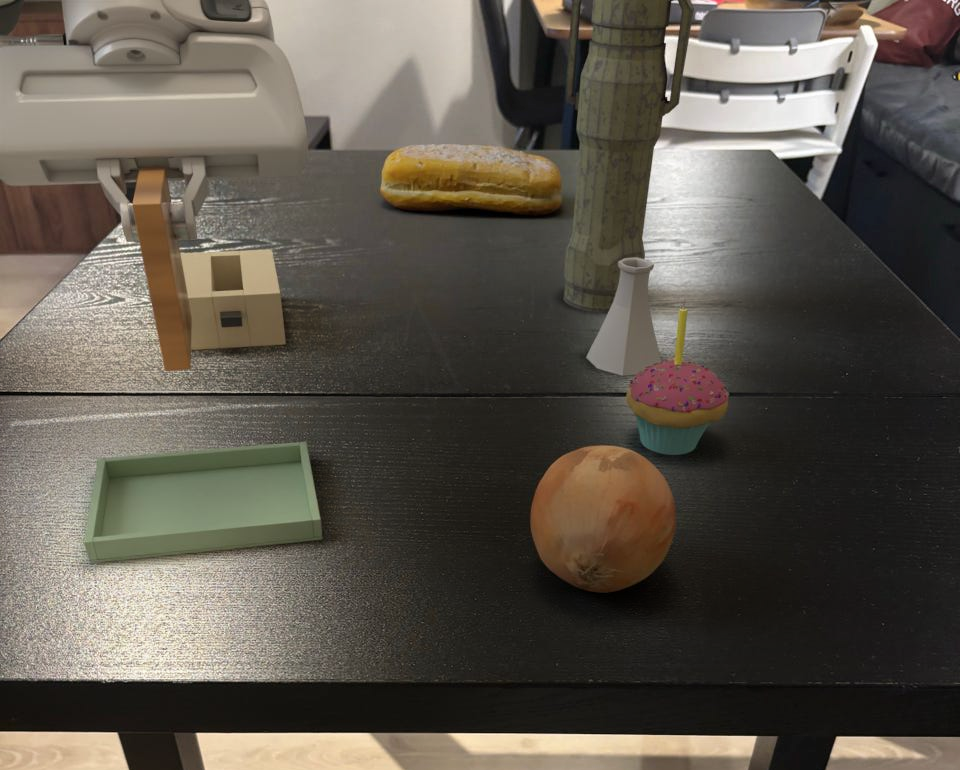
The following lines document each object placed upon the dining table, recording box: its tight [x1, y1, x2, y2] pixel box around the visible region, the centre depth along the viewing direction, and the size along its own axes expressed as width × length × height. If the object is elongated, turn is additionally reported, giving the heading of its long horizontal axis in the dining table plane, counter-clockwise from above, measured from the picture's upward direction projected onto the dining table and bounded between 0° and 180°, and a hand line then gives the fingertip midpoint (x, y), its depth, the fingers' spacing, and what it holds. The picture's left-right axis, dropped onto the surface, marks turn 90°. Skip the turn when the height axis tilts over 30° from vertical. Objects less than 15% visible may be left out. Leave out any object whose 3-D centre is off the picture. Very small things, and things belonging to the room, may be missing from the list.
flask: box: [585, 257, 662, 377], centre depth 92 cm, size 7×7×10 cm
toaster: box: [180, 249, 287, 352], centre depth 97 cm, size 16×10×6 cm, turn 13°
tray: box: [83, 441, 324, 564], centre depth 71 cm, size 16×12×2 cm
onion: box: [529, 445, 677, 594], centre depth 63 cm, size 10×10×10 cm
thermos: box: [562, 0, 695, 314], centre depth 98 cm, size 9×12×35 cm
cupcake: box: [625, 298, 730, 456], centre depth 78 cm, size 9×8×12 cm
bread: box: [379, 143, 563, 217], centre depth 136 cm, size 13×26×8 cm, turn 91°
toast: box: [131, 166, 192, 372], centre depth 60 cm, size 9×2×10 cm, turn 13°
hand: (161, 236), depth 60 cm, fingers closed on toast, 1 cm apart
